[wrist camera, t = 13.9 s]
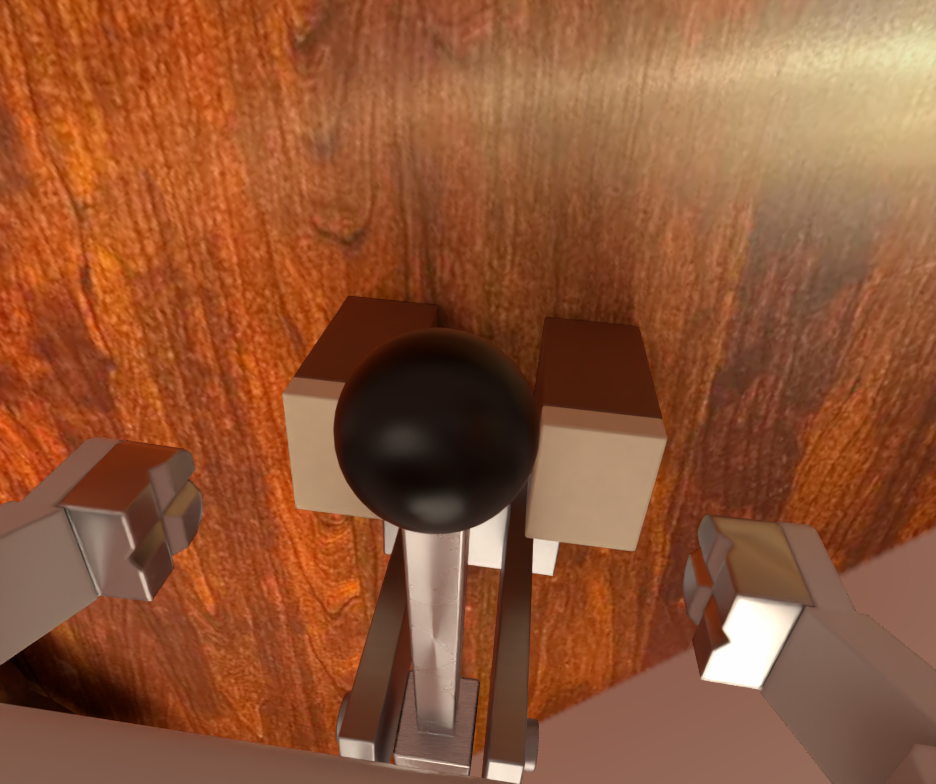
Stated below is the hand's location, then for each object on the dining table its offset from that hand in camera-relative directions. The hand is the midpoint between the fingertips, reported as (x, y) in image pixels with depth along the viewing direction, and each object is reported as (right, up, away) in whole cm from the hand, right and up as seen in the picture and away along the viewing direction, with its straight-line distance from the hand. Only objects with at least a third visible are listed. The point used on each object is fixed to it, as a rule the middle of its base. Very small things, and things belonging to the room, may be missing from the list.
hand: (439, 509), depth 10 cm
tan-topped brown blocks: (+1, +3, +15) cm, 15 cm away
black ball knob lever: (0, -2, +5) cm, 6 cm away
